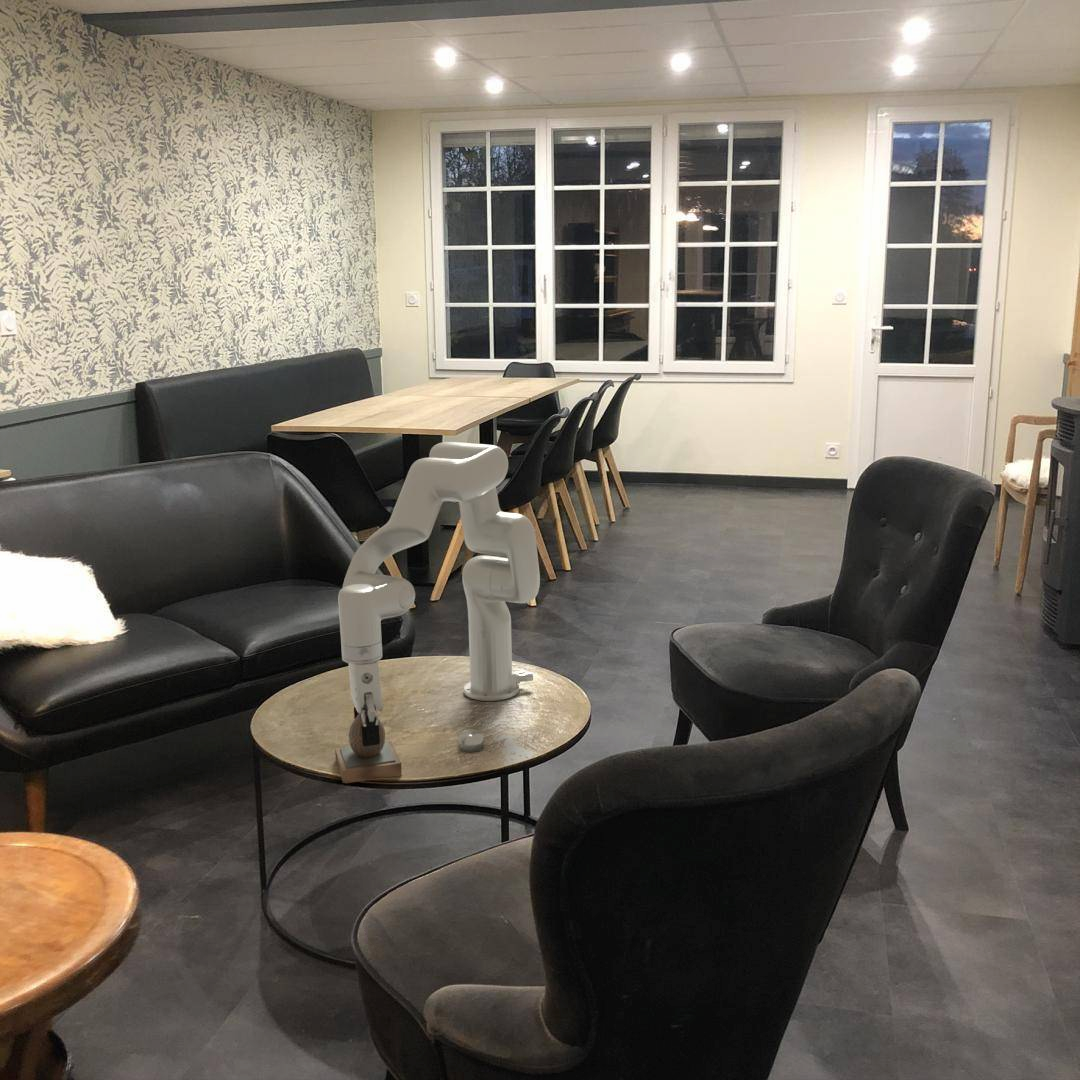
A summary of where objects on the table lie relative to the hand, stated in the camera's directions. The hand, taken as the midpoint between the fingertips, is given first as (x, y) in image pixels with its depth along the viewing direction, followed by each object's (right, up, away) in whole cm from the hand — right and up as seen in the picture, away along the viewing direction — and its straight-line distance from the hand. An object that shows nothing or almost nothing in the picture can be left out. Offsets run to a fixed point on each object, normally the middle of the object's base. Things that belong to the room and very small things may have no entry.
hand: (367, 735), depth 213 cm
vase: (0, -4, +1) cm, 4 cm away
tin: (+19, -4, +10) cm, 22 cm away
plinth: (0, -7, +1) cm, 7 cm away
